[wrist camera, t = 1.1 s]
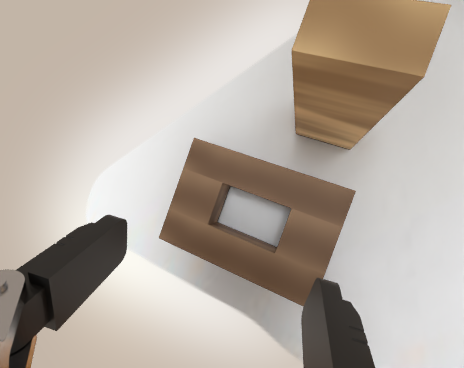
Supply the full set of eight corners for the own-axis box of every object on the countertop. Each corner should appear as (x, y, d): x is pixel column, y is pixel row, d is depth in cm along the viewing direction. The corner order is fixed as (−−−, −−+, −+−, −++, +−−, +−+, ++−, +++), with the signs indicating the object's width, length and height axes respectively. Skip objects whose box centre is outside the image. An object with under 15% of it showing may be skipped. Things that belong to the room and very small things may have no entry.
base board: (204, 144, 28) (194, 137, 26) (349, 192, 24) (355, 191, 21) (172, 234, 29) (158, 238, 26) (309, 297, 25) (311, 310, 22)
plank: (305, 106, 26) (314, -13, 11) (361, 120, 24) (451, 5, 10) (295, 133, 26) (291, 50, 11) (350, 149, 24) (423, 76, 10)
